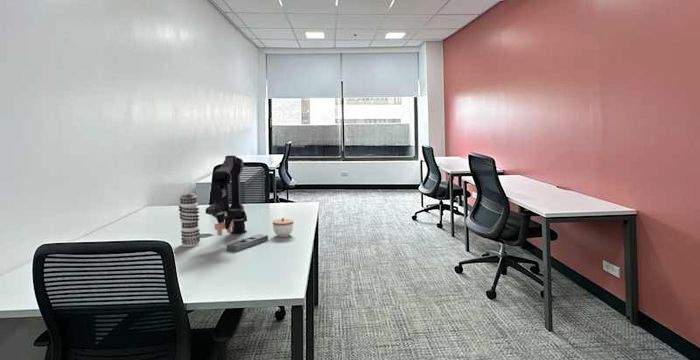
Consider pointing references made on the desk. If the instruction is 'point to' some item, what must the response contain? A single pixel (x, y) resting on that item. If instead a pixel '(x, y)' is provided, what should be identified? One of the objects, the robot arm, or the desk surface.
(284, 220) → the lidded jar
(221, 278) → the desk surface
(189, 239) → the ribbed stacked tower
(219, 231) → the peach rectangular block
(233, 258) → the desk surface
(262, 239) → the rail
